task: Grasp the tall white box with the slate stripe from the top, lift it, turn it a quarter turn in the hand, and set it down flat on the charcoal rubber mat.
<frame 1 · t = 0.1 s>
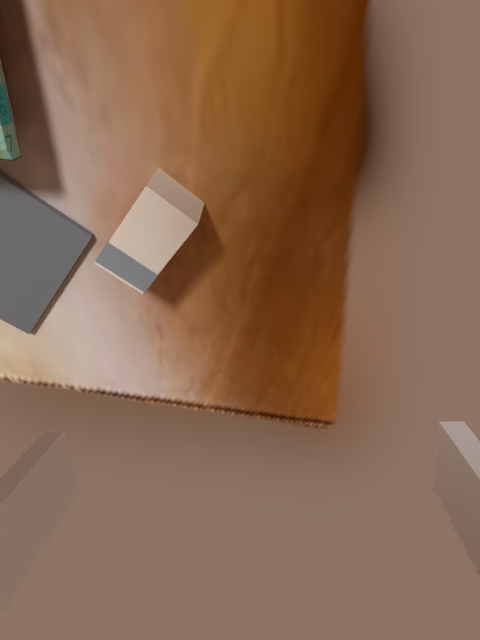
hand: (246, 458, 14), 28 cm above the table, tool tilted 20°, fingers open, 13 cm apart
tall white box: (156, 221, 39), on the table
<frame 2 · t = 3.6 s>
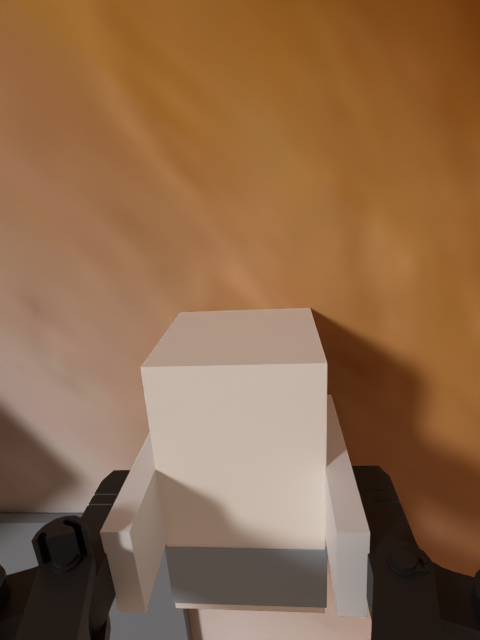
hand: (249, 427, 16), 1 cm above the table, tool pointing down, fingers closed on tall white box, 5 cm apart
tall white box: (250, 413, 17), on the table, touching gripper
mat: (46, 630, 22), on the table
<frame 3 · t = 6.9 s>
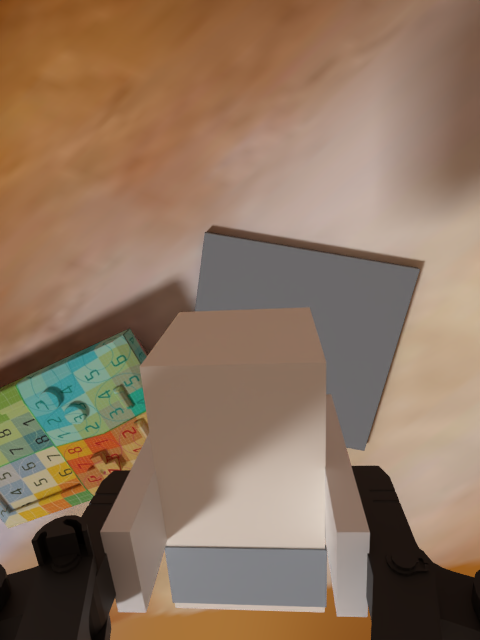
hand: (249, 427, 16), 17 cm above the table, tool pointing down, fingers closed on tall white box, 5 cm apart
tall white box: (249, 412, 17), point 16 cm above the table, touching gripper
puzzle game: (82, 415, 36), on the table, touching mat
mat: (290, 347, 33), on the table
when the fingers open (3 cm above the table, at t = 10.7 s): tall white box drops 1 cm, resting on mat.
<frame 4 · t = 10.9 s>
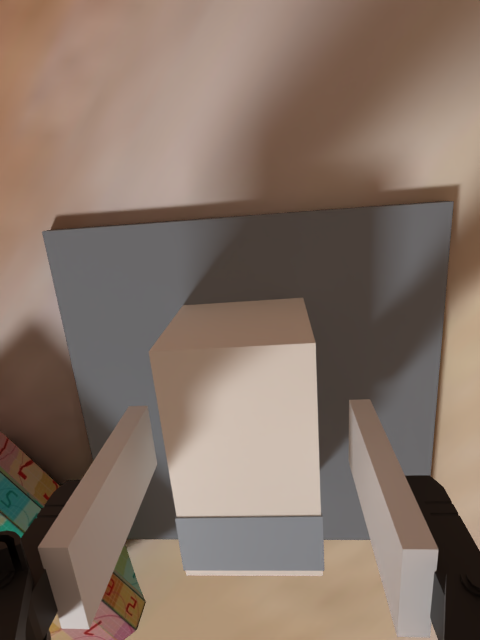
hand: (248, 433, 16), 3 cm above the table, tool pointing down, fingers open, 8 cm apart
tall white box: (250, 398, 18), point 1 cm above the table, touching mat
mat: (252, 393, 19), on the table
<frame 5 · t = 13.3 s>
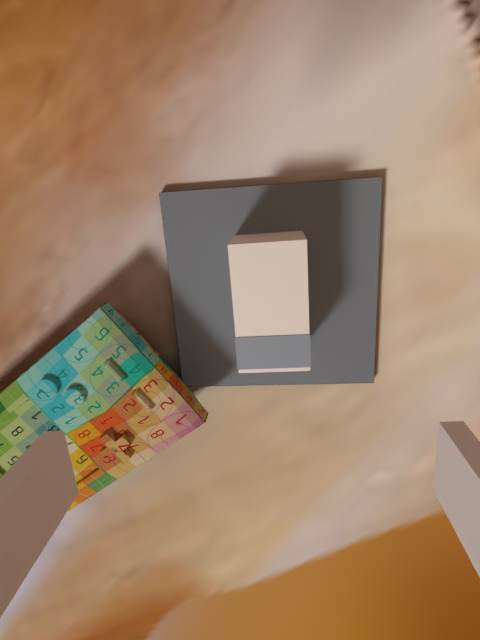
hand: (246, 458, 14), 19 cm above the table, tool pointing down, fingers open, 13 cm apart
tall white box: (271, 291, 32), point 1 cm above the table, touching mat
puzzle game: (91, 404, 37), on the table, touching mat
mat: (272, 290, 32), on the table
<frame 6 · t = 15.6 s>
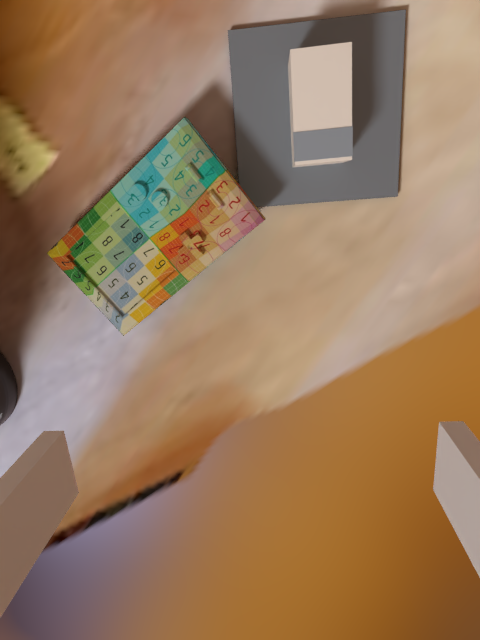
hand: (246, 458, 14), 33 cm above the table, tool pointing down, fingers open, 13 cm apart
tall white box: (316, 115, 39), point 1 cm above the table, touching mat
puzzle game: (162, 231, 45), on the table, touching mat
mat: (315, 118, 40), on the table
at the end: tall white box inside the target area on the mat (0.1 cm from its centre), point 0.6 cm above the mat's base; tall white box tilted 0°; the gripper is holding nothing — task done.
